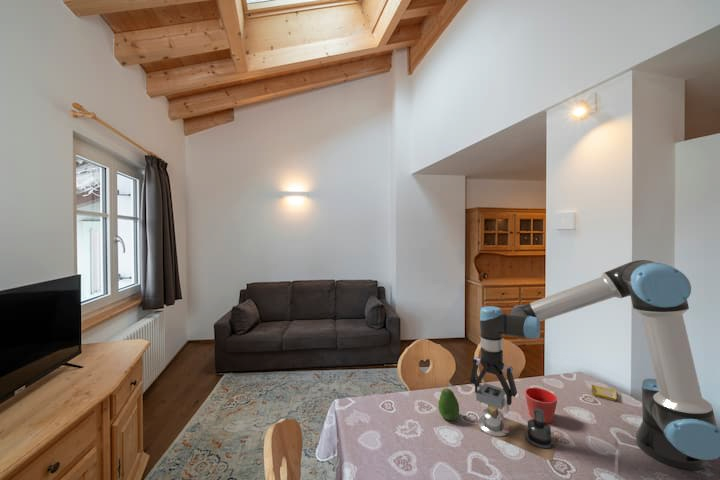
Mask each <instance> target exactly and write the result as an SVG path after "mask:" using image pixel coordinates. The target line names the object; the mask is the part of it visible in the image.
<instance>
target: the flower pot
mask: <svg viewBox="0 0 720 480" xmlns="http://www.w3.org/2000/svg"><path fill="white" fill-rule="evenodd" d="M524 393H525V394H524V395H525V399H526V401H525V402H526V406H527V410H528V414H529V416H530V418H531V419H534V408H540V409H542V410H543V411H544V422H545V423H547V424H550V423H553V421H554V418H555V413H556V409H557V402H558V398H557V395H555V394H554V393H553V392H551V391H549V390H547V389H544V388H539V387H528V388H526V389H525V391H524Z"/></svg>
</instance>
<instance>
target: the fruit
mask: <svg viewBox="0 0 720 480" xmlns="http://www.w3.org/2000/svg"><path fill="white" fill-rule="evenodd" d="M438 411H439V413H440V415H441V416H442V418H444V419H445V420H447V421H454V420H456V419H457V418H459V417H458V416H459V413H460V405H459V401H458V399H457V396H456V395H455V393H454V391H453V390H451V389H450V388H443V389H442V390H441V393H440V396H439V400H438Z"/></svg>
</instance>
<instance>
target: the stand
mask: <svg viewBox="0 0 720 480" xmlns="http://www.w3.org/2000/svg"><path fill="white" fill-rule="evenodd" d="M527 426H528V430H527V431H526V432H525V438H526V440H527V441H528V442H529V443H530V444H532V445H534V446H536V447H538V448H542V449H551V448H553V447H554V445H555V442H554V440H553V438H552V437H551V435H552V433H551V432H552V429H551V428H552V427H551V426H550V425H549V423H545V422H544V411H543V410H542V409H540V408H534V419H533V418H531V419H529V420H528V421H527Z"/></svg>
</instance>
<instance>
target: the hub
mask: <svg viewBox="0 0 720 480" xmlns="http://www.w3.org/2000/svg"><path fill="white" fill-rule="evenodd" d="M482 412H483V413H482V416H483V417H482V416H481V417H479V418H478V420H477V423H478V426H479V428H480V429H481V430H482V431H483V432H485V433H484V434H486V435H488V436H490V435H491V437H493V436H495V437H504V436H507V435H508V434H509V432H510V428H509V426H508V424H507V423H506V422H504V419H503V417H504V414H503V413H502V411H501V410H499V408H496V407H493V406H491V405H488V404H487V408H484V410H483V411H482ZM483 432H482V433H483ZM495 437H494V438H495Z"/></svg>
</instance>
